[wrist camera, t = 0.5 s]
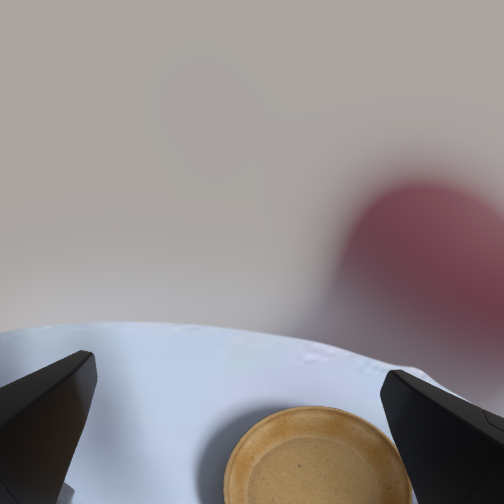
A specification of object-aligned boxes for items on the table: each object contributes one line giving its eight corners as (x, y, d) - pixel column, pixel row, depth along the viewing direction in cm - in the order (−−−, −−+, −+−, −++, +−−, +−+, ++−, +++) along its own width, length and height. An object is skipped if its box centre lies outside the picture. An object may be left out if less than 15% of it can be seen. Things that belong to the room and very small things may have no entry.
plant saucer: (337, 605, 10) (356, 606, 9) (174, 499, 17) (175, 491, 15) (416, 472, 21) (433, 460, 20) (292, 392, 28) (302, 376, 26)
